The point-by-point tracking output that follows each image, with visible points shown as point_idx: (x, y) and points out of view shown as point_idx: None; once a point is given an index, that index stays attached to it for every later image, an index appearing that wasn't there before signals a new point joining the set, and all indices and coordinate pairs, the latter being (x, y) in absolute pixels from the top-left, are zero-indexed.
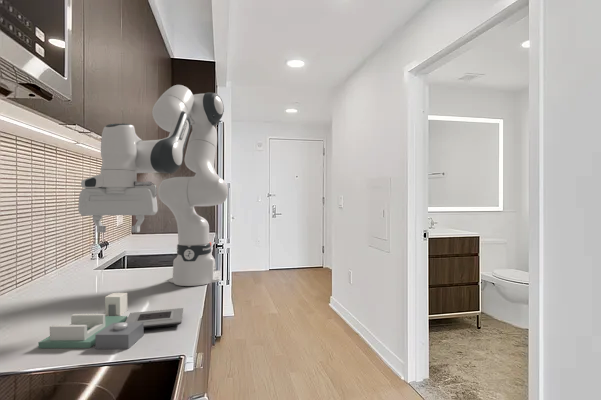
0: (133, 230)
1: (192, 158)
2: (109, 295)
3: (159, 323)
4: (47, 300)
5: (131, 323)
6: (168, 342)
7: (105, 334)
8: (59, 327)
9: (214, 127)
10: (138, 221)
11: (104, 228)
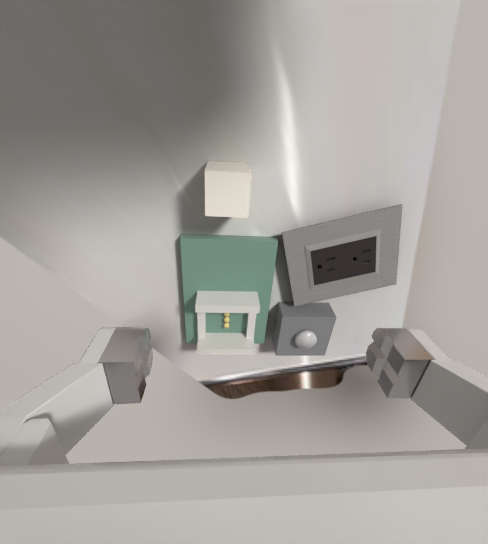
0: (381, 369)
1: None
2: (209, 201)
3: (356, 291)
4: None
5: (316, 320)
6: (370, 324)
7: (290, 354)
8: (213, 353)
9: None
10: (464, 433)
11: (141, 359)
